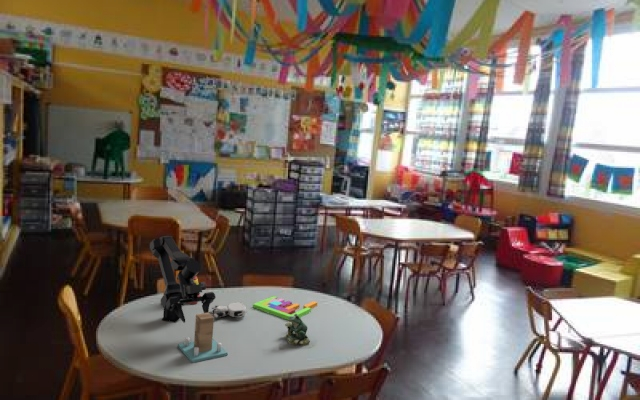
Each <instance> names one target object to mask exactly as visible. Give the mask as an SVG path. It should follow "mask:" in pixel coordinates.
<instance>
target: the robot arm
mask: <svg viewBox="0 0 640 400" xmlns="http://www.w3.org/2000/svg"><path fill="white" fill-rule="evenodd" d="M149 249H150V251H151V253H152V256H153V257H155V258H156V259H157V261H158V264H159V268H160V272H161V274H162V279H163V283H164V286H165V288H164V292H163V295H162V296H161V298H160V305H161V306H162V307H163V315H162V318H161V321H162V322H163V321H164V322H173V323H177V322H178V321H179V320H181V322H182V323H183V324H185V323H186V317H185V314H184V310H183V306H184V304H186V303H192V302H198V303H199V302H201V304H202V305H201V308H202V311H203V313H210V312H209V309H210V305H211V304H212V303H213V302H214V300H215V299H216V294H215V293H214V292H213V291H208V292H204V293H203V291H204V290H205V291H206V289H207V286H206V282H205V281H200V282H198V285H196V283H194V280H193V278H194V277H195V276H198V274H199V272H200V270H201V269H202V266H201V263H199V261H197V260H196V259H195V258H194V257H190V256H189V255H188V254H187V253H185V252H183V251H182V250H180V248H179V246H178V245H177V243H176V242H175V240H174V237H173V236H171V235H163V236H160V237H159V238H156V239H152V241H150V242H149ZM174 271H175V272H177V271H178V273H177V275H176V276H175V272H174ZM197 273H198V274H197ZM177 281H178V282H177ZM201 293H203V294H202V296H200V297H198V295H201Z"/></svg>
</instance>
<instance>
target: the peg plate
mask: <svg viewBox="0 0 640 400" xmlns="http://www.w3.org/2000/svg"><path fill="white" fill-rule="evenodd" d="M177 347H178V349H179V350H180V351H181V352H182V353H183V354H184V355H185V356H186V358H187V359H188V360H189V361H190V362H191V364H192V363H196V362H201V361H202V362H203V361H206V360H212V359H216V358H220V357H224V356H228V354H229V353H228V351H227V350H226V349H224V348H223V346H222V342H218V341H216V340H215V339H214V338H213V337H212V350H208V351H203V352H199V348H198V347H195V348H194V340H193V341H190V337H188V336H187V337H184V343H179V344H177Z"/></svg>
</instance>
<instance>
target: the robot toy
mask: <svg viewBox="0 0 640 400" xmlns="http://www.w3.org/2000/svg"><path fill="white" fill-rule="evenodd" d="M211 309H212V311H211V313H212V314H213V317H214V318H222V317H225V316H228V315H229V316H230V317H234V318H238V319H239V318H241V317H243V316H245V315H246V314H247V308H246V305H245V304H244V303H243V301H240V302H239V301H238V302H230V303H229V304H228V305H227V306H226V305H214V306H211Z"/></svg>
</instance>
